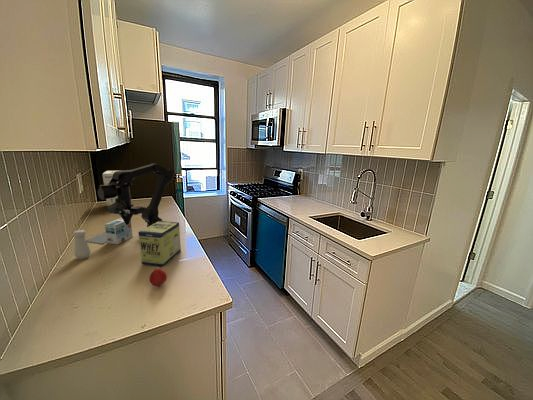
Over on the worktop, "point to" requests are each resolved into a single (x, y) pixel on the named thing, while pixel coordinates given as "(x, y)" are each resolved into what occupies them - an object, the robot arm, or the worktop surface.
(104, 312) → the worktop surface
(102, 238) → the mat
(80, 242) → the salt shaker
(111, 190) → the robot arm
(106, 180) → the pasta box
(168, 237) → the protein box
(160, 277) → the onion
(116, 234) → the light bulb box
